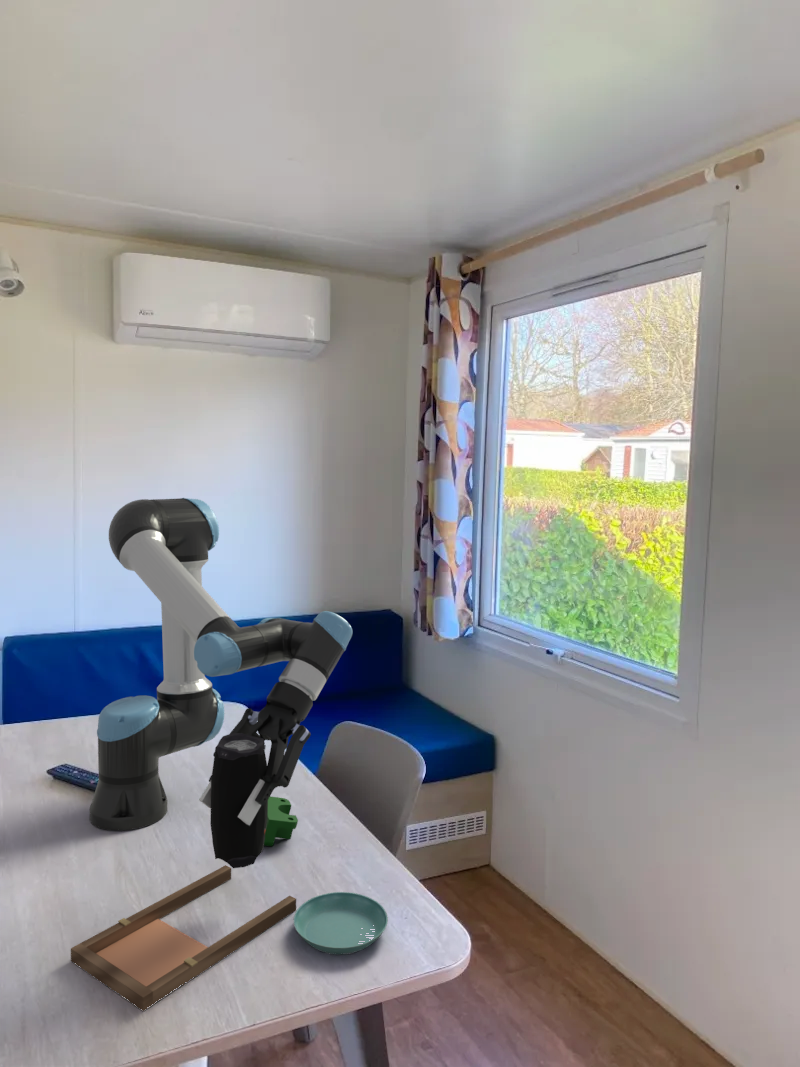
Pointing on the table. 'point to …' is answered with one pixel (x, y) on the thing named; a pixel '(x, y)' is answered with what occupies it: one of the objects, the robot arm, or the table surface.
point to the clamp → (279, 820)
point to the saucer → (340, 922)
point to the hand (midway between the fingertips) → (224, 812)
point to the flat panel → (151, 951)
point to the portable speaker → (237, 799)
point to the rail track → (192, 966)
